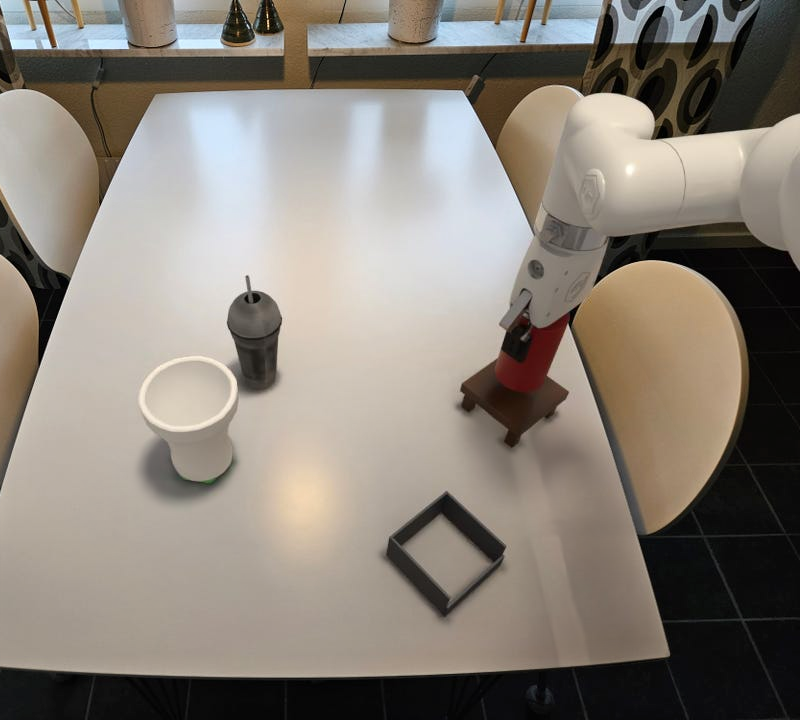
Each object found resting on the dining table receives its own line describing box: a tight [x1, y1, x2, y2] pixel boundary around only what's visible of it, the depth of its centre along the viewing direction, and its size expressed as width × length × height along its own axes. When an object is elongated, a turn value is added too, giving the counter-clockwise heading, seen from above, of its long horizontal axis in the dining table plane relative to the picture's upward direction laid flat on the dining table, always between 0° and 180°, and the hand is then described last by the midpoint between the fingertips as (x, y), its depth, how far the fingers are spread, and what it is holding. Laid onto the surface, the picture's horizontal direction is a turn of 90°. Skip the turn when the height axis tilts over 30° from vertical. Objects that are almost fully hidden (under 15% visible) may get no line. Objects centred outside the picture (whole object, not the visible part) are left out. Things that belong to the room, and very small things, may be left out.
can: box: [495, 308, 571, 392], centre depth 80 cm, size 6×6×11 cm
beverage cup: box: [226, 274, 283, 390], centre depth 86 cm, size 7×7×20 cm
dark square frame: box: [385, 490, 508, 618], centre depth 73 cm, size 9×9×4 cm
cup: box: [137, 355, 239, 484], centre depth 78 cm, size 11×11×14 cm
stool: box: [459, 357, 570, 449], centre depth 88 cm, size 10×10×5 cm
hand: (531, 341), depth 79 cm, fingers closed on can, 6 cm apart
